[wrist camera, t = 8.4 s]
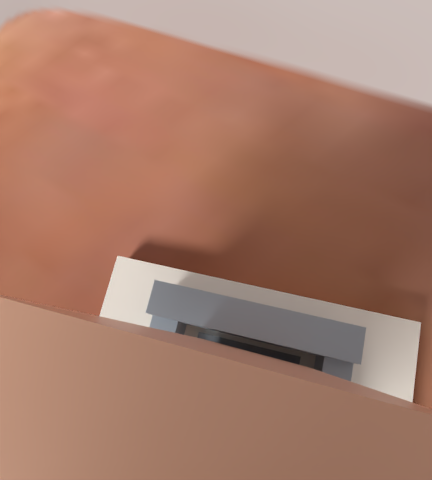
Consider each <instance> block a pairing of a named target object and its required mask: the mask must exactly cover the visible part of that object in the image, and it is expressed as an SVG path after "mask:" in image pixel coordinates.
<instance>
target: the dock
mask: <svg viewBox="0 0 432 480" xmlns="http://www.w3.org/2000/svg"><path fill="white" fill-rule="evenodd" d="M100 317H105V318H110V319H114V320H119V321H123V322H128V323H132V324H137V325H142V326H146V327H151V328H155V329H160V330H164V331H169V332H174V333H178V334H183V335H187V336H192V337H196V338H201V339H205V340H209V341H213V342H217V343H220V344H224V345H228V346H232V347H235V348H239V349H243V350H247V351H250V352H254V353H258V354H262V355H265V356H269V357H273V358H277V359H280V360H284V361H288V362H292V363H295V364H299V365H303V366H307V367H310V368H313V369H315V370H318V371H321V372H324V373H327V374H330V375H333V376H336V377H339V378H342V379H345V380H348V381H351V382H354V383H357V384H360V385H363V386H365V387H368V388H371V389H374V390H377V391H380V392H383V393H386V394H389V395H392V396H395V397H398V398H401V399H404V400H407V401H410V402H413V393H414V383H415V374H416V365H417V356H418V347H419V337H420V328H421V322H417V321H412V320H408V319H403V318H399V317H394V316H389V315H385V314H380V313H376V312H371V311H367V310H362V309H358V308H353V307H348V306H344V305H339V304H335V303H330V302H326V301H321V300H317V299H312V298H308V297H303V296H298V295H294V294H289V293H285V292H280V291H276V290H271V289H267V288H262V287H257V286H253V285H248V284H244V283H239V282H235V281H230V280H226V279H221V278H217V277H212V276H207V275H203V274H198V273H194V272H189V271H185V270H180V269H176V268H171V267H166V266H162V265H157V264H153V263H148V262H144V261H139V260H135V259H130V258H125V257H121V256H117V259H116V263H115V266H114V269H113V273H112V276H111V279H110V283H109V286H108V289H107V293H106V296H105V299H104V303H103V306H102V309H101V312H100Z"/></svg>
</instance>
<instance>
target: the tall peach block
mask: <svg viewBox="0 0 432 480" xmlns="http://www.w3.org/2000/svg"><path fill="white" fill-rule="evenodd" d="M0 480H432V409H430V408H427V407H424V406H421V405H418V404H415V403H412V402H410V401H407V400H404V399H401V398H398V397H395V396H392V395H389V394H386V393H383V392H380V391H377V390H374V389H371V388H368V387H365V386H363V385H360V384H357V383H354V382H351V381H348V380H345V379H342V378H339V377H336V376H333V375H330V374H327V373H324V372H321V371H318V370H315V369H313V368H310V367H307V366H303V365H299V364H295V363H292V362H288V361H284V360H280V359H277V358H273V357H269V356H265V355H262V354H258V353H254V352H250V351H247V350H243V349H239V348H235V347H232V346H228V345H224V344H220V343H217V342H213V341H209V340H205V339H201V338H196V337H192V336H187V335H183V334H178V333H174V332H169V331H164V330H160V329H155V328H151V327H146V326H142V325H137V324H132V323H128V322H123V321H119V320H114V319H110V318H105V317H100V316H96V315H91V314H87V313H82V312H78V311H73V310H68V309H64V308H59V307H55V306H50V305H46V304H41V303H36V302H32V301H27V300H23V299H18V298H14V297H9V296H4V295H0Z"/></svg>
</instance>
